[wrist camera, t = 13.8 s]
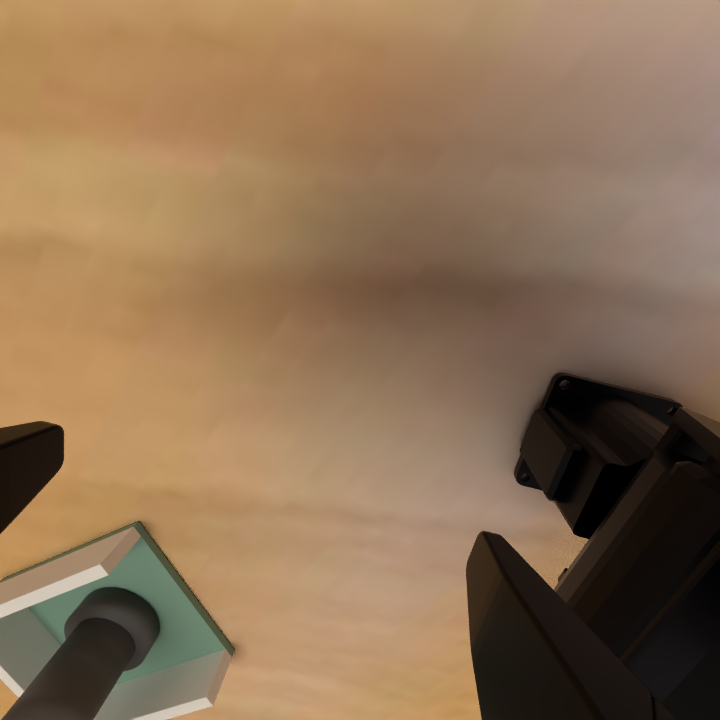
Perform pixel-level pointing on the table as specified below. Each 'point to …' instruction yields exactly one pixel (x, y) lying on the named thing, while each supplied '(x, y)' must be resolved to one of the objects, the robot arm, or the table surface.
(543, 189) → the table surface
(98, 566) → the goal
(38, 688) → the player figure
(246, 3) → the table surface
